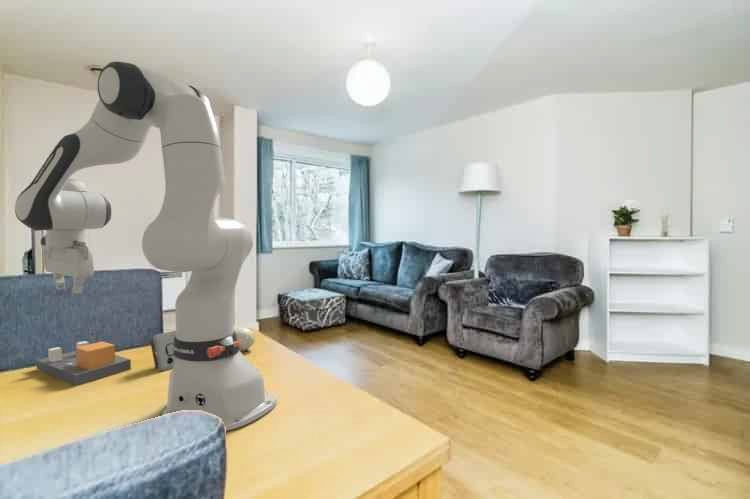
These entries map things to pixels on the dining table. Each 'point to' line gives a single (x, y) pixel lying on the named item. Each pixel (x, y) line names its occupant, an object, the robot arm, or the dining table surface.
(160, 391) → the dining table surface
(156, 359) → the electrical switch
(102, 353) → the cap
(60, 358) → the plain toggle
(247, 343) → the baseball
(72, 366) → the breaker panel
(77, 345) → the tagged toggle
